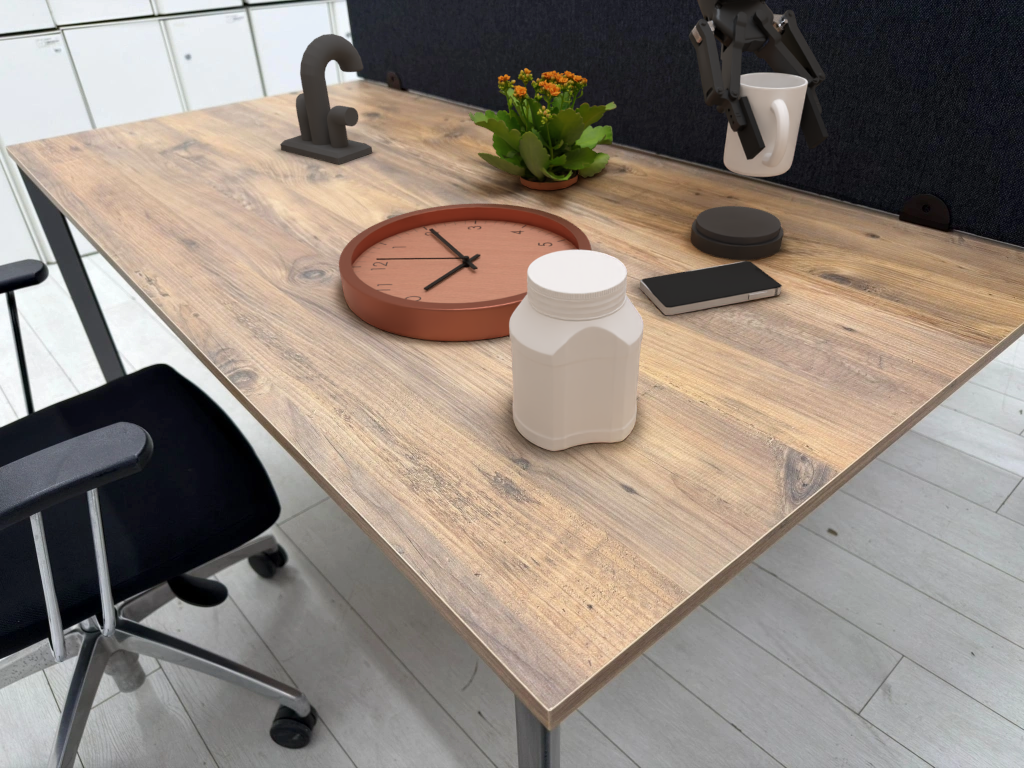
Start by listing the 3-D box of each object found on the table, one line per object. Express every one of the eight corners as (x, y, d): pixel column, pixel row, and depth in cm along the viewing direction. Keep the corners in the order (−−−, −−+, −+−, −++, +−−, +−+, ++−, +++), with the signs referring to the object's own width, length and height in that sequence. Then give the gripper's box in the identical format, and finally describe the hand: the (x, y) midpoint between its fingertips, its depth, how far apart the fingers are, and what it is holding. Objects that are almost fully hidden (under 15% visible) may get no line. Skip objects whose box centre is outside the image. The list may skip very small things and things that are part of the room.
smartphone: (638, 278, 88) (748, 259, 91) (637, 287, 89) (747, 268, 92) (667, 308, 82) (784, 286, 85) (666, 317, 83) (782, 296, 85)
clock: (599, 307, 76) (308, 311, 78) (598, 340, 79) (315, 343, 80) (585, 201, 102) (366, 205, 104) (584, 227, 104) (371, 231, 106)
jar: (617, 379, 72) (625, 239, 64) (649, 437, 65) (664, 288, 56) (504, 394, 71) (498, 253, 62) (524, 456, 63) (519, 305, 55)
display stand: (772, 225, 103) (776, 205, 101) (788, 261, 93) (793, 239, 91) (687, 224, 104) (689, 204, 103) (694, 259, 95) (696, 238, 93)
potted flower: (624, 208, 110) (630, 87, 100) (469, 212, 111) (461, 92, 101) (609, 157, 131) (614, 53, 121) (479, 161, 132) (473, 57, 122)
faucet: (402, 143, 142) (388, 32, 131) (341, 165, 132) (320, 46, 121) (341, 130, 152) (324, 25, 140) (280, 149, 142) (256, 38, 130)
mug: (809, 188, 84) (829, 95, 78) (737, 189, 84) (752, 97, 78) (780, 156, 94) (795, 71, 88) (716, 157, 94) (727, 73, 88)
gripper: (778, -5, 94) (838, 151, 91) (637, 9, 88) (695, 177, 85) (814, -50, 87) (881, 118, 84) (663, -38, 81) (728, 143, 78)
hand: (788, 147), depth 85 cm, fingers closed on mug, 8 cm apart
